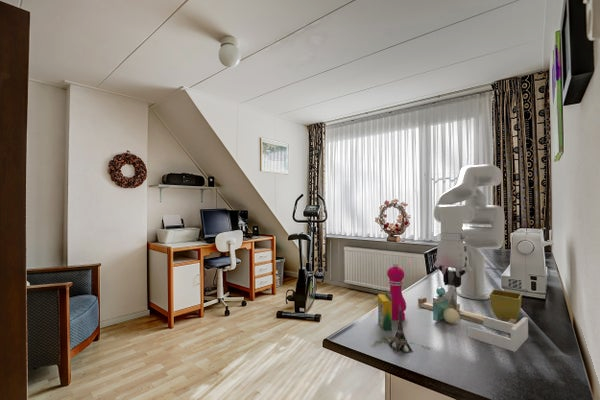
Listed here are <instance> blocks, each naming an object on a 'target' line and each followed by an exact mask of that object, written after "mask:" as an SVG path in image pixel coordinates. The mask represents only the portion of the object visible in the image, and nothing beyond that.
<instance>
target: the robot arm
mask: <svg viewBox="0 0 600 400" xmlns="http://www.w3.org/2000/svg"><path fill="white" fill-rule="evenodd" d="M502 181H503V172H502V170H501V168H499V167H498V166H496V165H494V164H492V163H490V164H489V163H485V164H477V165H475V164H474V165H473V164H472V165H466V166H464V167H462V168H461V169H460V170H459V171H458V174H457V178H456V180H455V183H454V186H453V187H451V188H450V189H448V190H447V191H445V192H444V193H442V194H441V195H440V196H439V197H438V199H437V201H436V204H435V206H434V211H433V217H434V220H435V221H437V222H438V223H440V239H439V240H438V244H437V251H436V260H435V262H434V263H433V266H434V267H436V268H437V269H438V270H439V271H440V272H441V274H442V277H443V278H442V281H443V284H444V286H448V284H447V271H448V270H450V268H452V269H454V270H455V271H456V277H455V287H456V288H457V289H458V288H460V289H458V290H457V296H460V297H462V298H466V299H470V300H478V301H479V300H484V301H485V300H489V299H490V295H489V294H488V293H486V289H485V288H486V284H485V281H486V279H485V277H486V276H485V275H486V274H485V258H484V255H483V254H482V252H481V251H480V250H479V249H488V250H491V249H492V250H499V249H501V248H502V247H503V244H504V240H505V239H504V238H505V236H504V235H505V216H506V215H505V211H504V208H502V207H501V205H494V204H492V205H491V204H490V205H489V204H488V205H486V204H487V196H486V194H485V193H484V192H483V191H482V190H480V189H479V188H478V187H493V186H499V185H501V183H502ZM464 201H465V202H464ZM461 202H464V204H457V203H461ZM464 224H465V226H464ZM466 224H467V225H466ZM468 225H469V226H468Z"/></svg>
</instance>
